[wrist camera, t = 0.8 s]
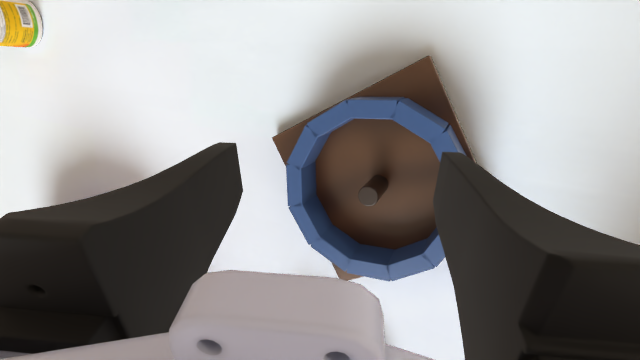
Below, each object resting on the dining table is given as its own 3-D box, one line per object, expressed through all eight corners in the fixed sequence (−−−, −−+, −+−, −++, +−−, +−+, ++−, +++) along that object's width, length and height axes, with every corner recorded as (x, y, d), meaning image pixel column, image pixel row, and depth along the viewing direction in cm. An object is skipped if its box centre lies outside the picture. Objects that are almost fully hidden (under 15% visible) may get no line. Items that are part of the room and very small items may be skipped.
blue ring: (504, 229, 28) (507, 246, 25) (348, 280, 35) (338, 298, 32) (417, 60, 27) (410, 59, 25) (275, 146, 34) (258, 152, 31)
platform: (507, 234, 29) (511, 260, 25) (344, 277, 36) (327, 302, 32) (430, 55, 28) (422, 53, 24) (277, 135, 35) (250, 144, 31)
